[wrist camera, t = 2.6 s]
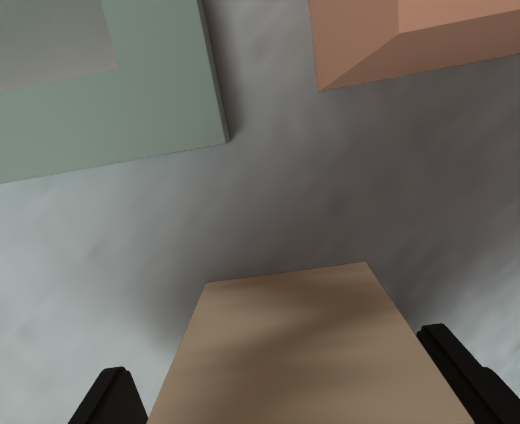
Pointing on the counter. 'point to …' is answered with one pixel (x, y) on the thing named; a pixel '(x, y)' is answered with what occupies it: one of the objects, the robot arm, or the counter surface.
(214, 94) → the plate
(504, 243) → the counter surface
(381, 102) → the counter surface
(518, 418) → the robot arm
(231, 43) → the counter surface
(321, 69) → the terracotta block
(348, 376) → the maple block
